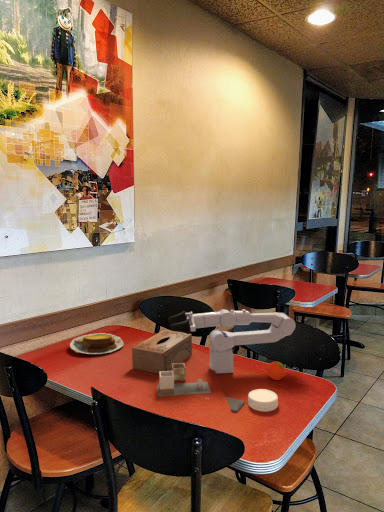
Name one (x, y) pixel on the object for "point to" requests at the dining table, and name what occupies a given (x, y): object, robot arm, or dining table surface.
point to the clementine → (276, 370)
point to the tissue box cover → (162, 351)
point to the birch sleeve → (179, 371)
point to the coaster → (263, 400)
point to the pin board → (187, 388)
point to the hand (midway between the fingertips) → (169, 323)
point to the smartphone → (234, 404)
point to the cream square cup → (166, 381)
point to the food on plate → (96, 343)
